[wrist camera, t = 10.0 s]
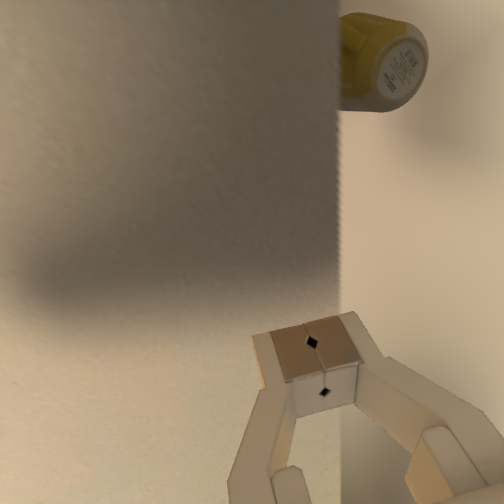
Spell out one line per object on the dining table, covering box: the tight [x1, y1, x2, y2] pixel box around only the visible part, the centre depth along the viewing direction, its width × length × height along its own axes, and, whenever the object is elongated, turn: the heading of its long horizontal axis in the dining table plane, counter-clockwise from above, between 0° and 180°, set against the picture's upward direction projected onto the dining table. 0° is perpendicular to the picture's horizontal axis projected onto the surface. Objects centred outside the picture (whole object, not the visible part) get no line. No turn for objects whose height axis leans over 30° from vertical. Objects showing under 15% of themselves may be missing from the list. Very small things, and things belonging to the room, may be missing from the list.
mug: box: [339, 12, 429, 113], centre depth 35 cm, size 14×10×10 cm
